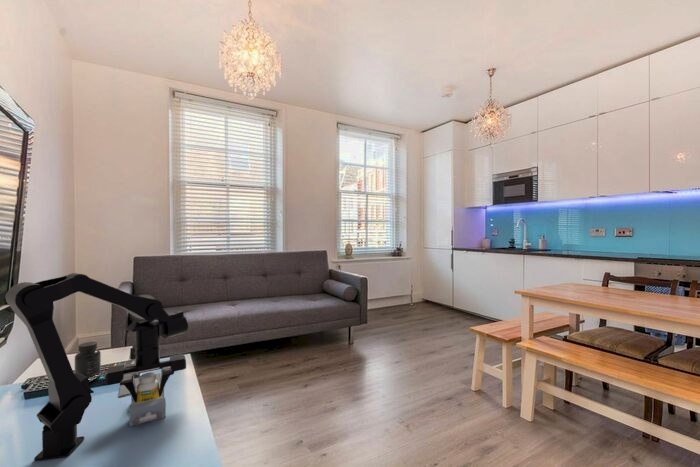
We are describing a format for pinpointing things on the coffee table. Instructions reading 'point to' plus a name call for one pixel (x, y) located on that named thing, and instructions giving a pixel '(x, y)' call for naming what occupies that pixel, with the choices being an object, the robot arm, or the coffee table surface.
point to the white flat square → (125, 391)
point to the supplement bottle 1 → (88, 359)
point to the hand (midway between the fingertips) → (148, 398)
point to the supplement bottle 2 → (147, 387)
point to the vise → (147, 410)
